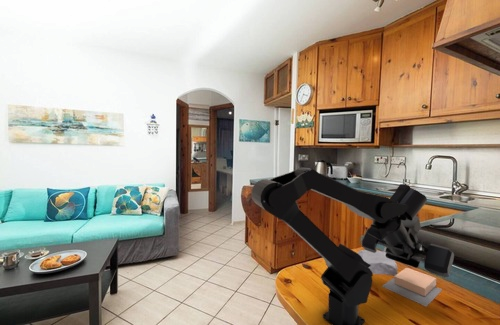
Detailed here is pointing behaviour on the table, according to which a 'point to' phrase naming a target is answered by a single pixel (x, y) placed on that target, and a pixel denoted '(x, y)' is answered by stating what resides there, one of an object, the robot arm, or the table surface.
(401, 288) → the mat
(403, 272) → the tile
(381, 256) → the stone block
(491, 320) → the table surface
